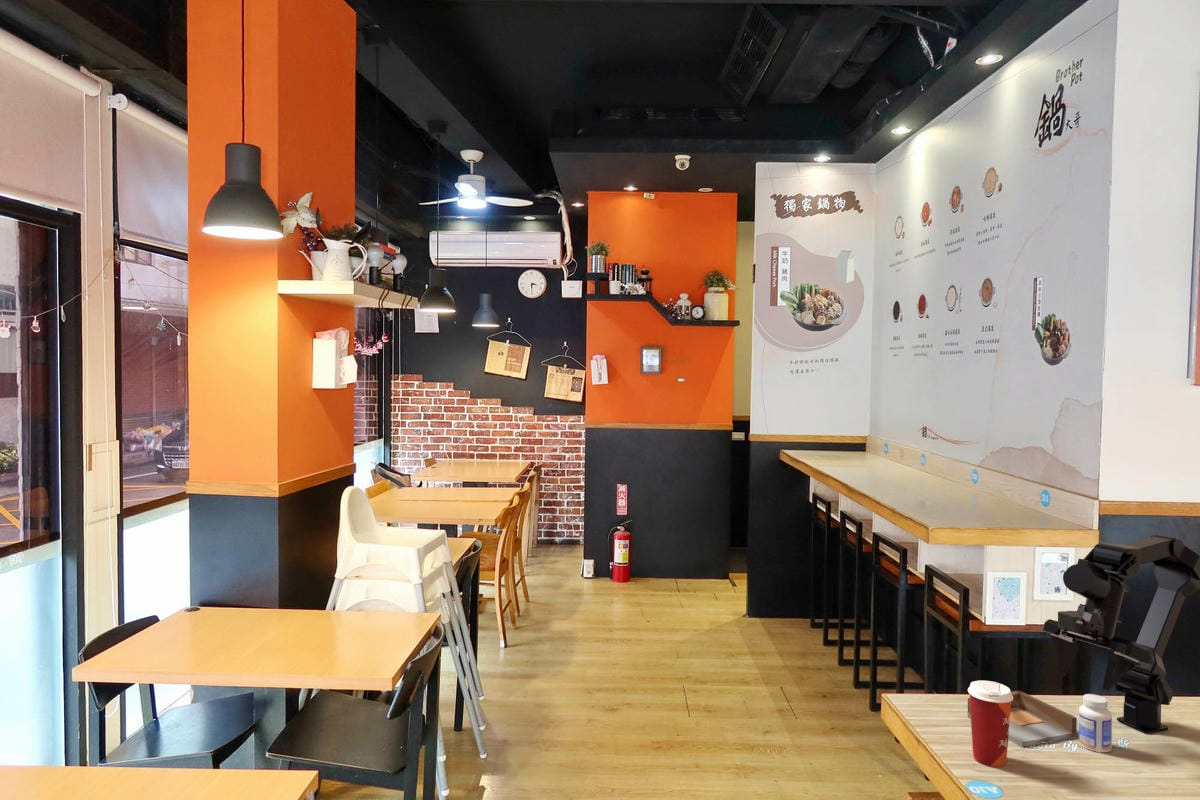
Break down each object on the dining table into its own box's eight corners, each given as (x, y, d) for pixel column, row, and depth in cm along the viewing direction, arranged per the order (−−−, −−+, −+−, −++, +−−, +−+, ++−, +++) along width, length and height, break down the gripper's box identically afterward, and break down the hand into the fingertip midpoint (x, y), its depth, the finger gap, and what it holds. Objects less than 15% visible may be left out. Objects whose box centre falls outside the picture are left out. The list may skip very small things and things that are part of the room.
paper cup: (1018, 772, 137) (1019, 697, 137) (973, 767, 138) (974, 693, 138) (1004, 751, 145) (1005, 680, 144) (961, 747, 146) (962, 677, 146)
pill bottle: (1106, 742, 148) (1106, 694, 148) (1115, 755, 143) (1116, 705, 143) (1074, 738, 150) (1075, 690, 150) (1083, 751, 145) (1084, 701, 145)
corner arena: (1019, 708, 164) (1019, 690, 164) (1076, 737, 150) (1076, 717, 150) (967, 716, 160) (967, 698, 160) (1021, 747, 146) (1022, 727, 146)
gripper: (1033, 584, 155) (1013, 657, 153) (1119, 603, 138) (1098, 686, 135) (1071, 600, 158) (1052, 672, 156) (1160, 621, 141) (1141, 703, 138)
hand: (1083, 682), depth 146 cm, fingers open, 9 cm apart
